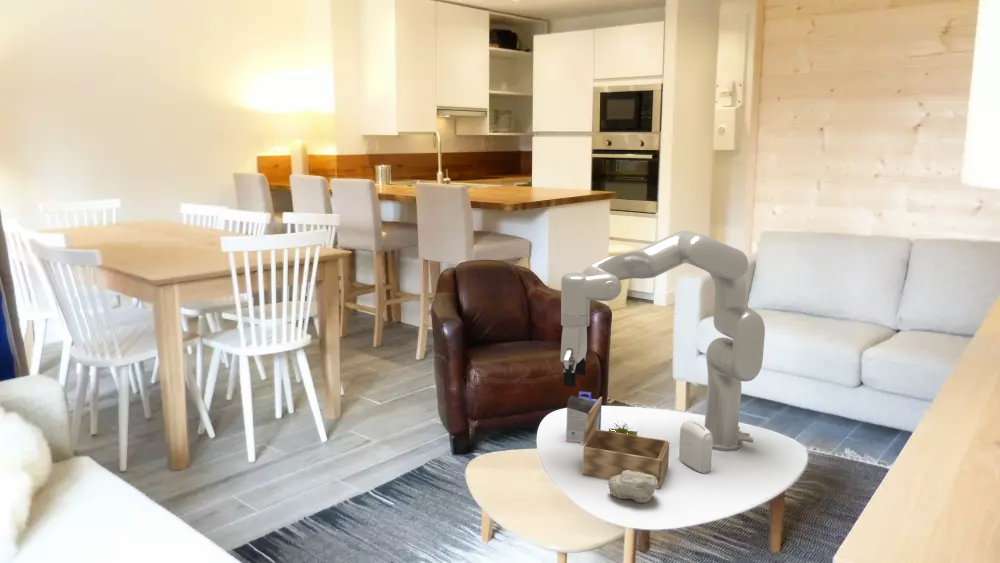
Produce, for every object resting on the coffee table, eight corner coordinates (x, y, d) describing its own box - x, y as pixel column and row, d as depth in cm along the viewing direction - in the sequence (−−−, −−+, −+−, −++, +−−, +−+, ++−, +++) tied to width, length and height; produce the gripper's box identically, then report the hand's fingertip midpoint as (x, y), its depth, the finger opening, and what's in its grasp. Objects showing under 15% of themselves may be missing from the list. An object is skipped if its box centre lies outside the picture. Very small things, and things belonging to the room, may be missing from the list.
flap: (583, 446, 200) (556, 437, 202) (596, 428, 211) (570, 420, 214) (590, 413, 197) (563, 405, 200) (602, 397, 209) (576, 389, 211)
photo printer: (676, 459, 211) (678, 418, 209) (688, 457, 213) (691, 415, 210) (700, 475, 202) (703, 432, 200) (713, 472, 204) (716, 429, 201)
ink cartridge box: (600, 437, 226) (602, 391, 223) (599, 445, 220) (601, 398, 217) (567, 434, 228) (569, 389, 225) (565, 441, 222) (567, 395, 219)
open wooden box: (668, 468, 206) (669, 441, 204) (659, 489, 194) (661, 460, 192) (594, 455, 213) (595, 429, 212) (582, 475, 201) (583, 447, 200)
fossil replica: (606, 489, 194) (613, 512, 185) (605, 461, 192) (612, 482, 182) (652, 485, 194) (661, 508, 185) (652, 457, 192) (661, 478, 182)
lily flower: (638, 448, 220) (639, 433, 219) (597, 442, 223) (598, 428, 222) (643, 432, 231) (644, 418, 230) (604, 427, 234) (605, 413, 233)
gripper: (570, 310, 210) (570, 368, 214) (552, 326, 194) (552, 389, 198) (597, 312, 207) (596, 371, 211) (580, 329, 191) (579, 392, 195)
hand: (574, 380), depth 204 cm, fingers open, 9 cm apart
